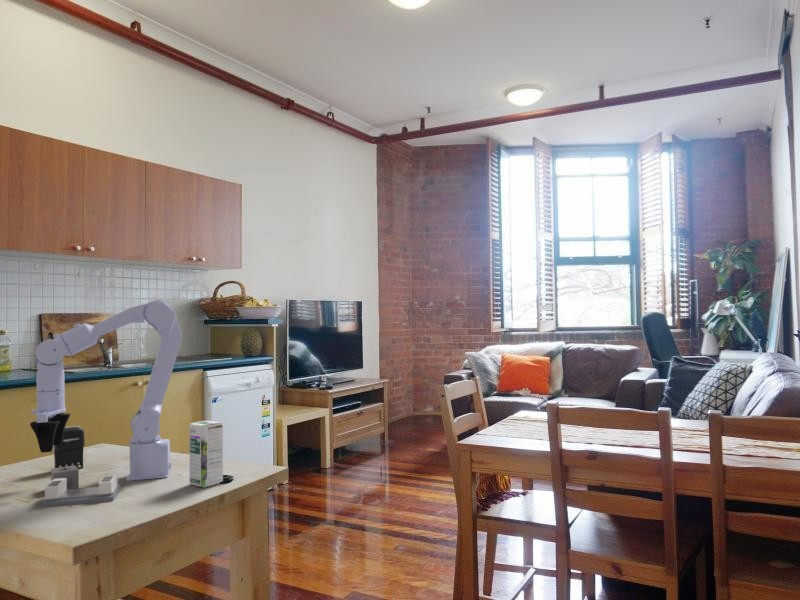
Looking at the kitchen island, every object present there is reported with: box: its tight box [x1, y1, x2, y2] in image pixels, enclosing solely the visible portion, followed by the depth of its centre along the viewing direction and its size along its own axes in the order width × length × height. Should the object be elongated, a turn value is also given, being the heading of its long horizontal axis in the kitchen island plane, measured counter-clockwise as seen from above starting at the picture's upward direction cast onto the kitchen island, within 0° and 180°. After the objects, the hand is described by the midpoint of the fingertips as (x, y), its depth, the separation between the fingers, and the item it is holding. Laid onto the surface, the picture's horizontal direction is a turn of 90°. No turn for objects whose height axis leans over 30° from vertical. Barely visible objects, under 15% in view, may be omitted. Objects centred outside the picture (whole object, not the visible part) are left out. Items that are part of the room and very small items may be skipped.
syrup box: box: [188, 420, 224, 489], centre depth 143 cm, size 6×6×14 cm
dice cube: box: [50, 465, 80, 490], centre depth 140 cm, size 5×5×5 cm
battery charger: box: [52, 425, 86, 470], centre depth 157 cm, size 7×4×11 cm, turn 131°
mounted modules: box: [44, 473, 119, 499], centre depth 133 cm, size 13×7×3 cm, turn 105°
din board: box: [40, 484, 122, 508], centre depth 133 cm, size 14×9×2 cm, turn 105°
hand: (51, 448), depth 141 cm, fingers open, 7 cm apart
